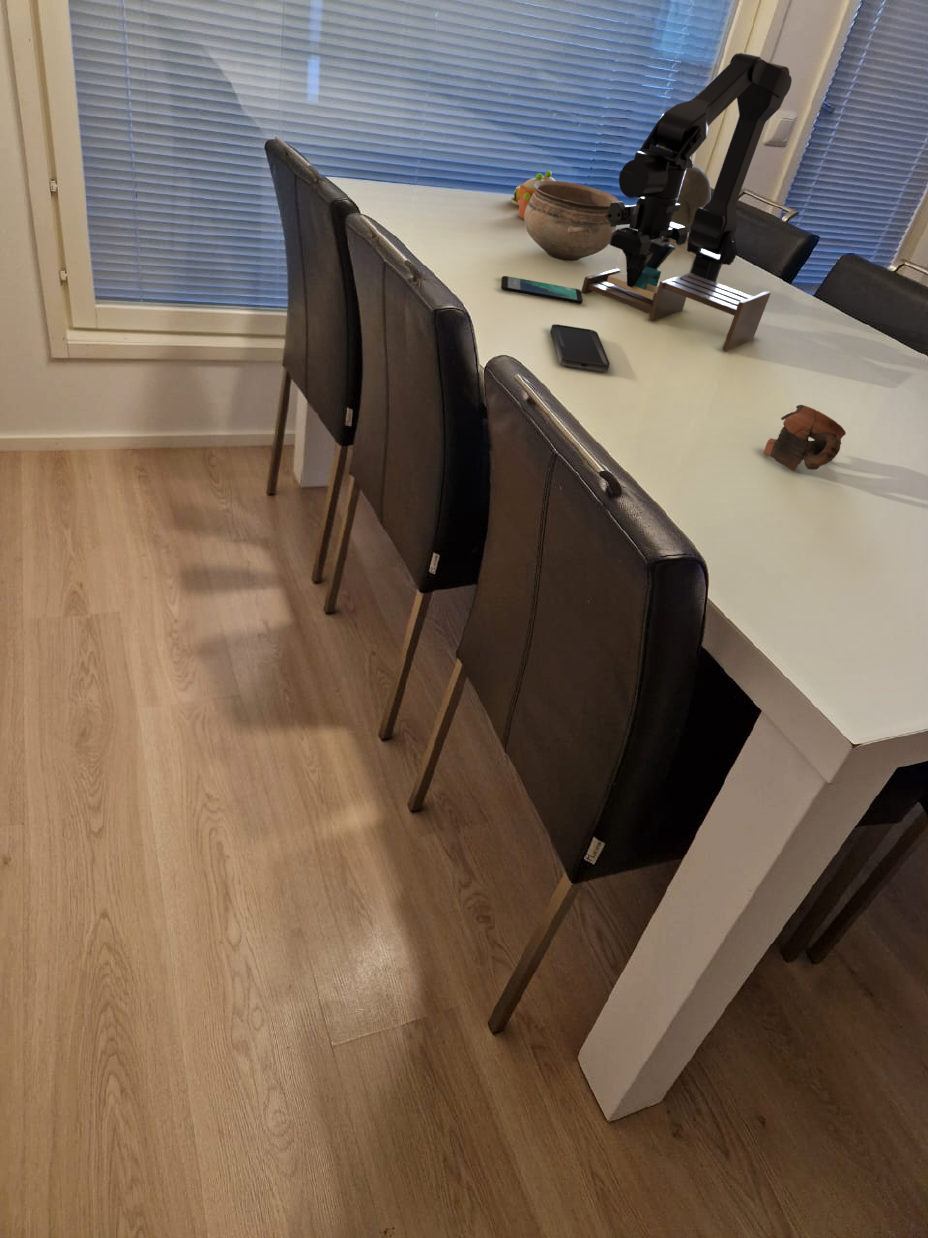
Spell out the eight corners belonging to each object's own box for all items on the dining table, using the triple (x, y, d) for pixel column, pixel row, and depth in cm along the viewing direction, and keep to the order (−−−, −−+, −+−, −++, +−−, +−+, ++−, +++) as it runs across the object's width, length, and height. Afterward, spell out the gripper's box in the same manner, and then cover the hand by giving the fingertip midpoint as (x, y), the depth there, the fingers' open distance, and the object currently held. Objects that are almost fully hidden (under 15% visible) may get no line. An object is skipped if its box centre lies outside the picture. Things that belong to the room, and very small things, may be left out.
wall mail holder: (619, 278, 166) (624, 257, 163) (664, 295, 162) (670, 274, 159) (606, 282, 163) (611, 260, 160) (652, 299, 158) (658, 278, 156)
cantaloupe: (707, 235, 216) (728, 170, 207) (687, 244, 206) (708, 175, 197) (656, 219, 221) (674, 154, 212) (634, 227, 211) (652, 159, 202)
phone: (596, 330, 144) (611, 365, 133) (594, 336, 145) (609, 372, 133) (550, 323, 143) (560, 358, 132) (548, 329, 144) (559, 365, 132)
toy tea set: (584, 232, 199) (595, 187, 193) (519, 223, 196) (528, 176, 190) (561, 202, 219) (570, 160, 213) (501, 193, 216) (509, 150, 210)
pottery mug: (745, 445, 122) (782, 393, 120) (789, 477, 126) (825, 428, 124) (794, 467, 111) (835, 411, 109) (841, 501, 115) (881, 448, 113)
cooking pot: (620, 281, 173) (637, 216, 166) (528, 268, 170) (542, 202, 162) (592, 243, 192) (606, 184, 185) (509, 231, 189) (520, 170, 181)
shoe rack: (613, 283, 171) (625, 238, 166) (753, 339, 158) (771, 292, 153) (580, 292, 163) (592, 246, 158) (725, 351, 150) (743, 303, 145)
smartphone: (501, 274, 161) (580, 289, 162) (501, 278, 161) (579, 293, 162) (501, 286, 155) (583, 301, 156) (500, 290, 156) (582, 305, 157)
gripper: (648, 178, 162) (625, 264, 171) (596, 185, 149) (574, 277, 159) (700, 195, 157) (674, 282, 167) (651, 204, 145) (625, 297, 154)
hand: (636, 284), depth 162 cm, fingers closed on wall mail holder, 5 cm apart
